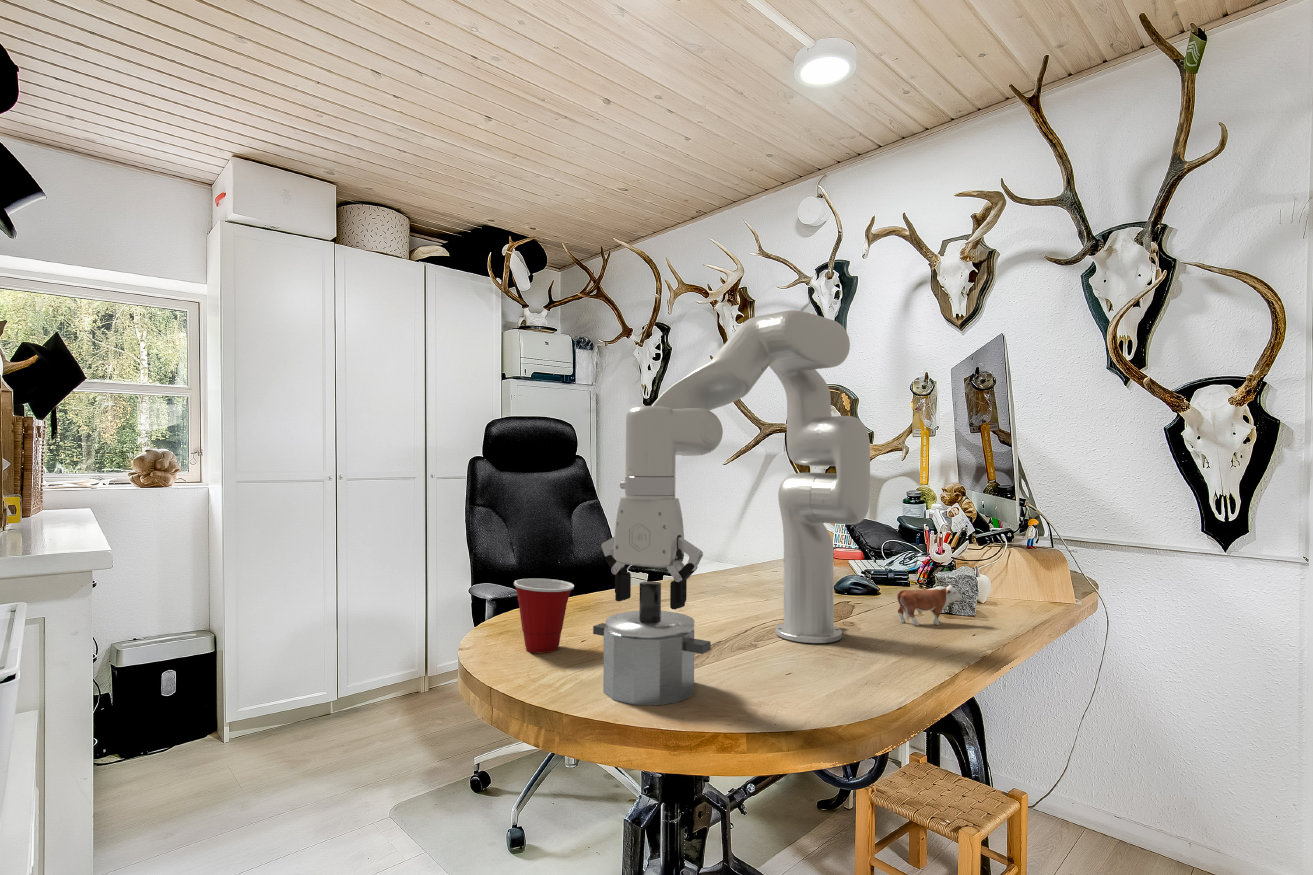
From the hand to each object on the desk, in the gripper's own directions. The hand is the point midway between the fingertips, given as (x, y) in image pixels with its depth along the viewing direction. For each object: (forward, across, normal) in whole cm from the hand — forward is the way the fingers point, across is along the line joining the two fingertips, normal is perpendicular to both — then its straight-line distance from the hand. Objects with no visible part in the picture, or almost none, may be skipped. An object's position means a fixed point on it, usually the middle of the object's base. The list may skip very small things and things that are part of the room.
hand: (649, 603), depth 97 cm
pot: (+12, 0, 0) cm, 12 cm away
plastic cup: (+13, -27, +7) cm, 31 cm away
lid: (+4, 0, 0) cm, 5 cm away
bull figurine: (+13, +28, +65) cm, 72 cm away
